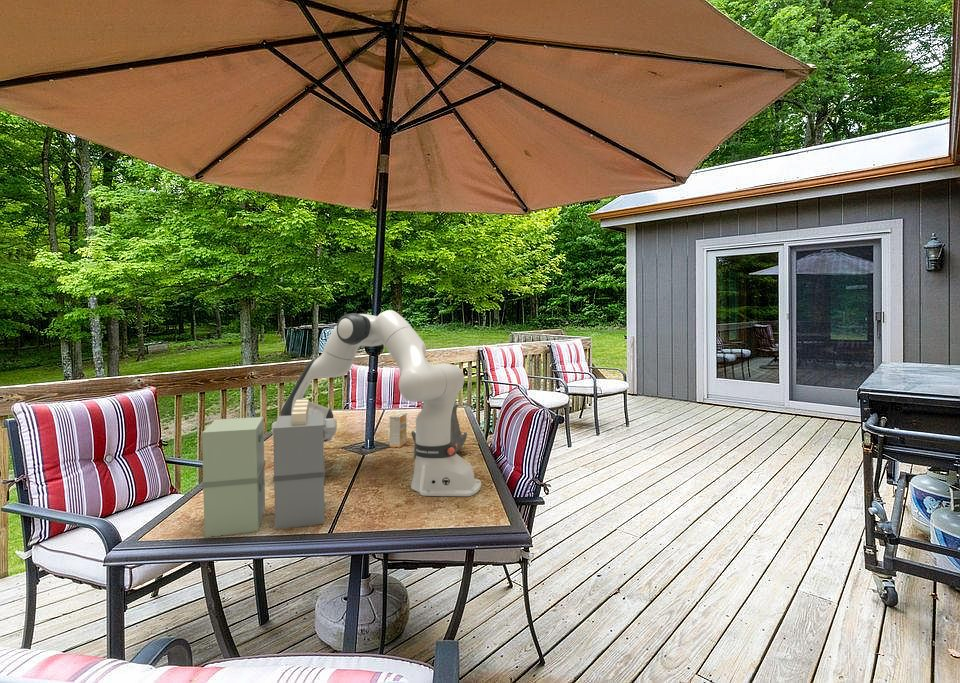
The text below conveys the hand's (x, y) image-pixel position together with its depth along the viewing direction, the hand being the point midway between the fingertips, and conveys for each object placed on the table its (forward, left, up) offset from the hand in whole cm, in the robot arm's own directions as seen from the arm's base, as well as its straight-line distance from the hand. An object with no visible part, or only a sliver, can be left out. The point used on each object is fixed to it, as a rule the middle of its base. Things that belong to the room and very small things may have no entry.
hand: (304, 420), depth 158 cm
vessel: (-30, -46, -21) cm, 59 cm away
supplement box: (-10, -53, -21) cm, 58 cm away
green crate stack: (+1, +30, -21) cm, 36 cm away
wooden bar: (-10, +17, +5) cm, 20 cm away
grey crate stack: (-12, +22, -21) cm, 33 cm away
